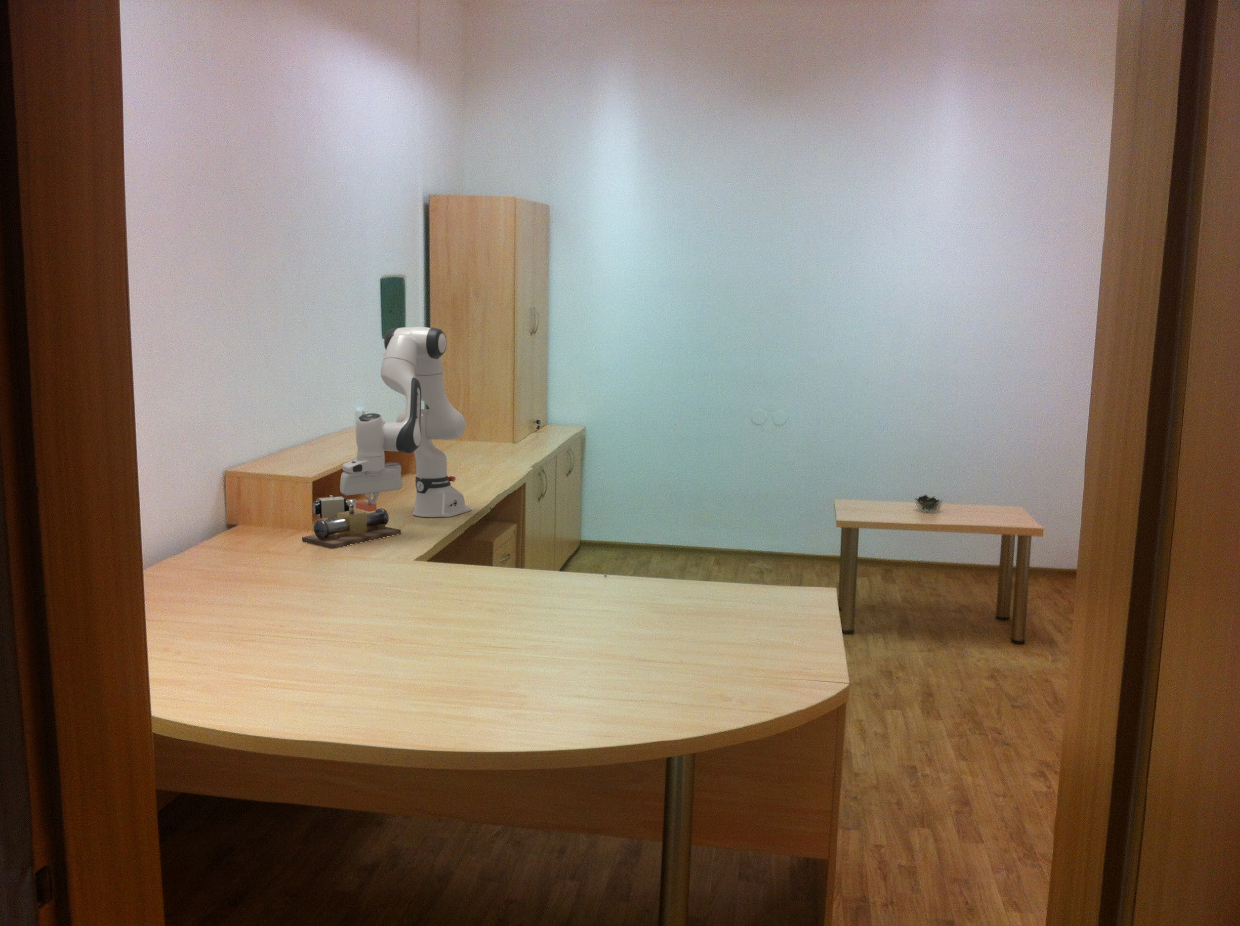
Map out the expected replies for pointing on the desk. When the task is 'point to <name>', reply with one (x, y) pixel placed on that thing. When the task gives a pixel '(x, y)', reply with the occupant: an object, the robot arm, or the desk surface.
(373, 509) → the valve lever
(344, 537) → the dark brown base board
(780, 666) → the desk surface
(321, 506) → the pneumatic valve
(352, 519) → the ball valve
